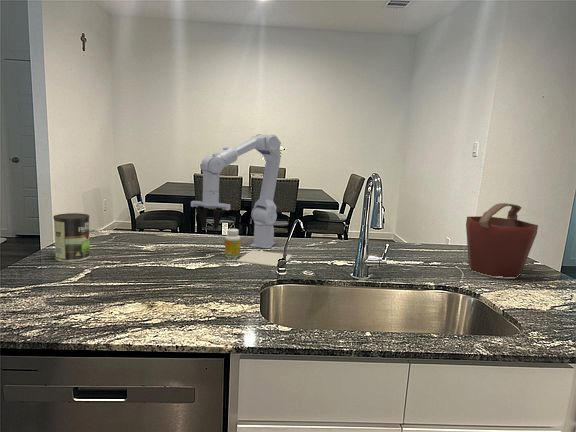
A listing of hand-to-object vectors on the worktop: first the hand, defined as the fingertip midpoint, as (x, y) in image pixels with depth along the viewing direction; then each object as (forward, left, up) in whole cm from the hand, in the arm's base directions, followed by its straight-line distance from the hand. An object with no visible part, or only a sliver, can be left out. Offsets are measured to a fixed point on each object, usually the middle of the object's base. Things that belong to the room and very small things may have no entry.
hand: (209, 228), depth 150 cm
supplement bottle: (0, +9, -10) cm, 13 cm away
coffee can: (+25, -37, -10) cm, 46 cm away
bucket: (-21, +101, -10) cm, 104 cm away
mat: (-2, +21, -9) cm, 23 cm away
